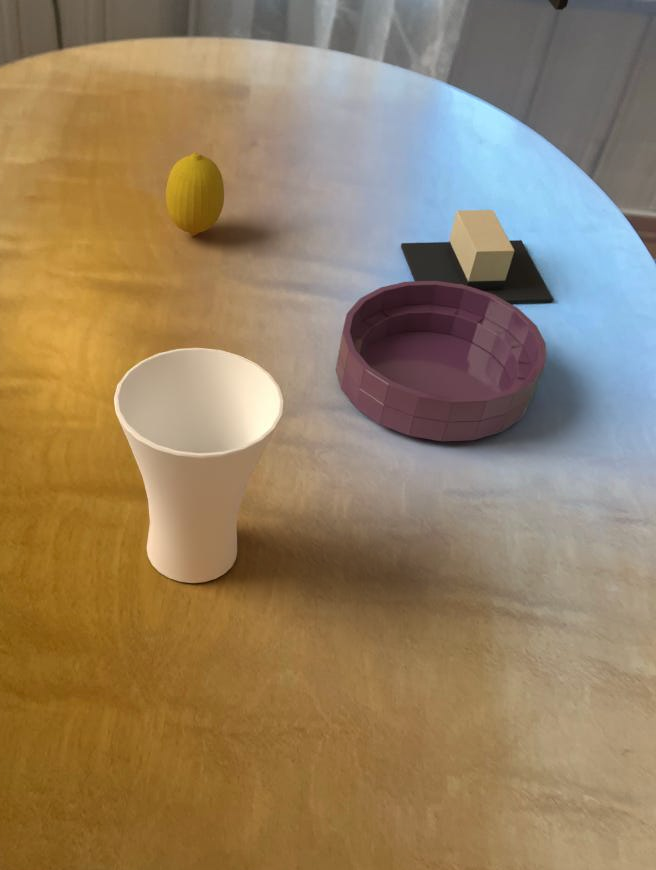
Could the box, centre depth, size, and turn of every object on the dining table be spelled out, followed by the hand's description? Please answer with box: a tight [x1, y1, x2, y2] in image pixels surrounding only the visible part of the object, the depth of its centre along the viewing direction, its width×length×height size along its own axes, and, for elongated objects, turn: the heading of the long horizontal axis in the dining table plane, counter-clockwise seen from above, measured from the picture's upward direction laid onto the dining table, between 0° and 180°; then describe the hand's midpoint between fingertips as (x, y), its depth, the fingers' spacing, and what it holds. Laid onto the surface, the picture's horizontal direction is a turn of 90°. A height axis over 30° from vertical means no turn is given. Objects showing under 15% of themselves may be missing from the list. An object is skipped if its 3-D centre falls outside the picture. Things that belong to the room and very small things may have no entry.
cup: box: [113, 347, 285, 584], centre depth 67 cm, size 10×10×14 cm
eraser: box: [447, 209, 514, 291], centre depth 93 cm, size 4×7×4 cm, turn 5°
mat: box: [400, 239, 554, 305], centre depth 95 cm, size 12×10×1 cm
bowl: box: [335, 280, 547, 442], centre depth 83 cm, size 16×16×4 cm
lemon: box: [165, 151, 225, 237], centre depth 95 cm, size 6×6×8 cm
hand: (613, 2), depth 79 cm, fingers open, 9 cm apart
